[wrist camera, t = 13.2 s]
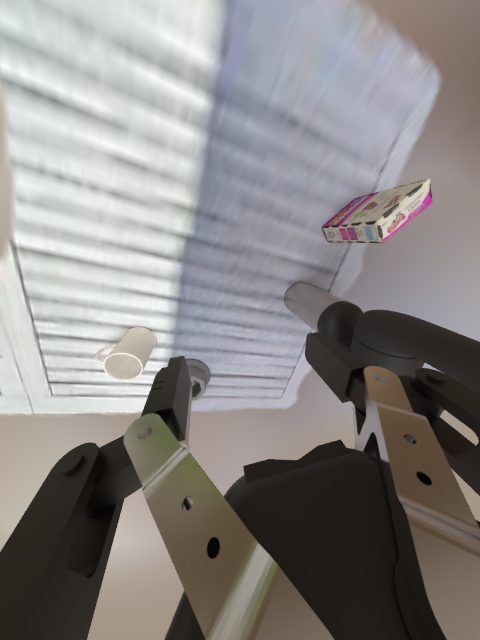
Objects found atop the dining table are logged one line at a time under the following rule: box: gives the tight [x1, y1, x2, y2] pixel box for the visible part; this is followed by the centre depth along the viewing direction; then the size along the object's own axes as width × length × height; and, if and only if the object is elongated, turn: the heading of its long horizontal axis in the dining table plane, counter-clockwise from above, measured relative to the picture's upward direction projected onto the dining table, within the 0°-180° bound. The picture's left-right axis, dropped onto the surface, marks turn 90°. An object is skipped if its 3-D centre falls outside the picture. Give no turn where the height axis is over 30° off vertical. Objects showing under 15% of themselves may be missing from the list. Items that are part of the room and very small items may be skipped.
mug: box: [95, 327, 157, 381], centre depth 44 cm, size 12×8×12 cm
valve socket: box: [185, 359, 210, 400], centre depth 53 cm, size 17×14×10 cm
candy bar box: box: [322, 179, 432, 243], centre depth 38 cm, size 11×5×16 cm, turn 129°
